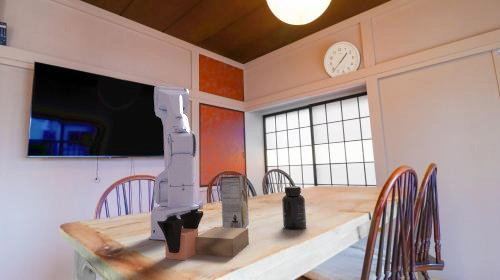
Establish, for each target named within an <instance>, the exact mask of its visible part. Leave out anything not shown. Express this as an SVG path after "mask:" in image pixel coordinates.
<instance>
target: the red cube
mask: <svg viewBox="0 0 500 280" xmlns="http://www.w3.org/2000/svg"><path fill="white" fill-rule="evenodd" d="M197 236H199V228H198V229H185V228H182V230H181V236H180V249H179V252H178V253H169V250H168V246H167V242H166V239H165V240H164V241H165V242H164V243H165V245H164V246H165V256H164V257H165V259H170V260H180V261H182V260H183V261H186V260H188V259H190V258H191V257H193V256H194V255H197V254H196V237H197Z"/></svg>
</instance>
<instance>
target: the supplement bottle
mask: <svg viewBox="0 0 500 280" xmlns="http://www.w3.org/2000/svg"><path fill="white" fill-rule="evenodd" d="M301 188H302V187H301V186H297V185H296V186H293V185H291V186H285V187H284V194H285V195H284V196H283V197H282V199H281V205H282V222H283V225H282V226H283V227H284V229H286V230H290V231H291V230H292V231H298V230H299V231H301V230H303V229H306V227H307V214H306V200H305V197H304V196H303V195H302V189H301Z"/></svg>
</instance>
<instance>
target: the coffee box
mask: <svg viewBox="0 0 500 280" xmlns="http://www.w3.org/2000/svg"><path fill="white" fill-rule="evenodd" d="M247 179H248V178H247V174H243V175H242V174H241V175H239V174H238V175H226V176H221V177H220V189H221V191H220V192H221V218H222V219H221V220H222V223H221V224H222V227H225V228H247V226H248V225H249V223H250V222H249V203H248V201H249V199H248V183H247V181H248V180H247Z"/></svg>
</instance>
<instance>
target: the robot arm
mask: <svg viewBox="0 0 500 280" xmlns="http://www.w3.org/2000/svg"><path fill="white" fill-rule="evenodd" d="M153 91H154V92H153V101H154V102H153V103H154V112H155V116H156V117H158V118H159V119H161V122H162V126H163V151H164V153H163V156H164V157H163V158H164V162H163V163H164V170H163V171H161V172H160V173H158V175H156V177H155V179H154V203H155V204H156V205H155V206H154V207H153V208H152V210H151V211H150V236H148V239H149V240H156V241H157V240H159V241H165V239H166V242H167V246H168V250H169V253H178V252H179V249H180V236H181V230H182V228H185V229H198V230H199V226H200V223H201V221H202V218H203V216H204V211H203V209H204V201H203V200H196V199H195V164H194V163H195V160H194V159H195V157H196V154H197V137H196V134H195V132H194V131H193V130H191V128H190V127H191V126H190V122H189V118H188V116H187V115H186V114H187V113H188V107H189V103H190V92H189V89H188V88H187V87H174V86H163V85H158V84H157V85H155V86H154V89H153Z"/></svg>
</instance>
